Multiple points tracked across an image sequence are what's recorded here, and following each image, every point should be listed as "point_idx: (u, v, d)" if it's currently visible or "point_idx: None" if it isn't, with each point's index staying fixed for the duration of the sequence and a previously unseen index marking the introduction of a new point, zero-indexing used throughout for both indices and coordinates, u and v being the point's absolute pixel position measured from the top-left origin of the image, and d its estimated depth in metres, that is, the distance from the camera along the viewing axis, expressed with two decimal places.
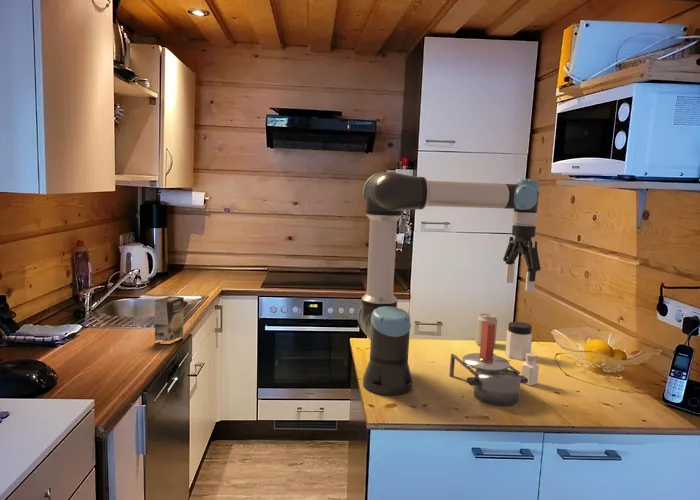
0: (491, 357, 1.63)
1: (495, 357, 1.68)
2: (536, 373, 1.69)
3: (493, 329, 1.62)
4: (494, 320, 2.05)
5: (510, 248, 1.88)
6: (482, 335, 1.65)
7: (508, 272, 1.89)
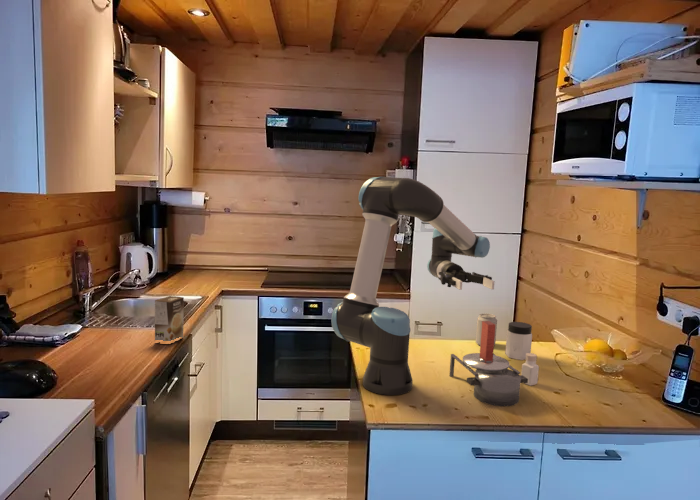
0: (491, 357, 1.63)
1: (495, 357, 1.68)
2: (536, 373, 1.69)
3: (493, 329, 1.62)
4: (494, 320, 2.05)
5: None
6: (482, 335, 1.65)
7: None
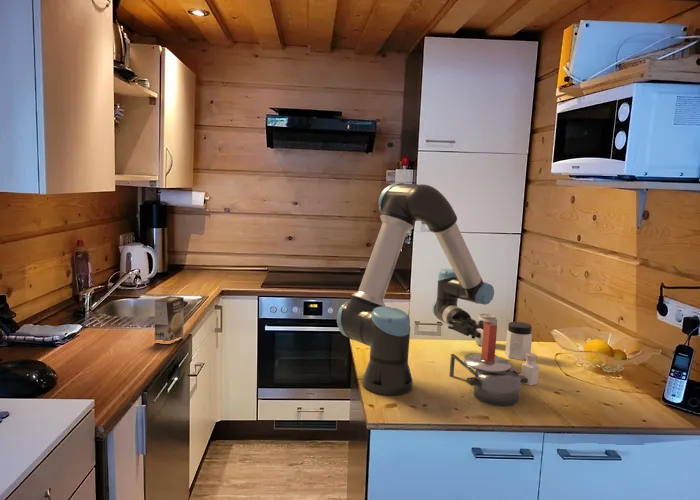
0: (493, 358, 1.62)
1: (497, 358, 1.67)
2: (536, 373, 1.69)
3: (495, 330, 1.61)
4: (494, 320, 2.05)
5: None
6: (483, 336, 1.64)
7: None
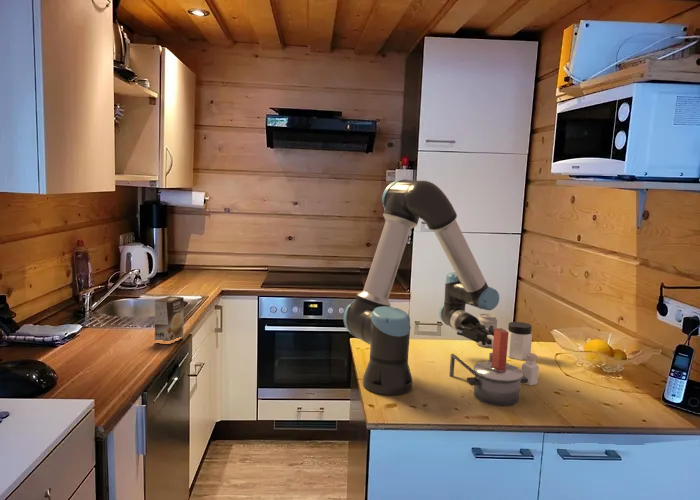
0: (504, 366, 1.55)
1: (508, 366, 1.61)
2: (536, 373, 1.69)
3: (506, 337, 1.54)
4: (494, 320, 2.05)
5: None
6: (494, 343, 1.57)
7: None
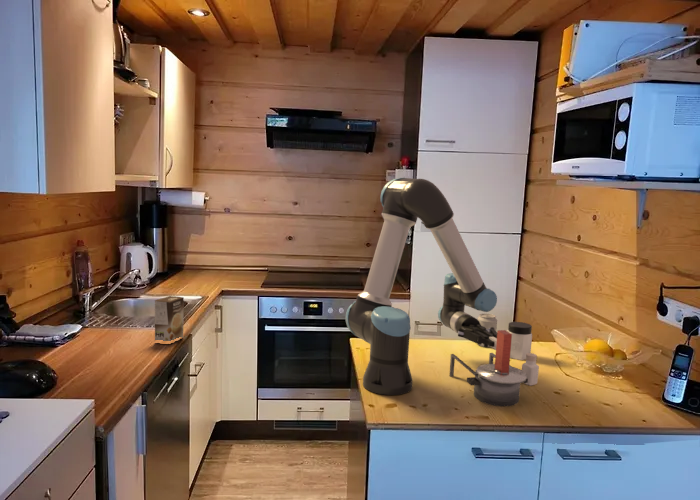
0: (507, 369, 1.53)
1: (511, 368, 1.59)
2: (536, 373, 1.69)
3: (509, 339, 1.52)
4: (494, 320, 2.05)
5: None
6: (497, 345, 1.55)
7: None
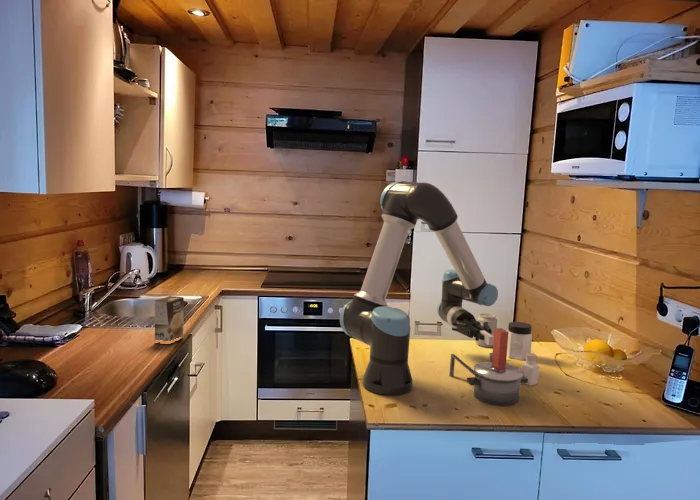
0: (504, 366, 1.55)
1: (508, 366, 1.61)
2: (536, 373, 1.69)
3: (506, 337, 1.54)
4: (494, 320, 2.05)
5: None
6: (494, 343, 1.57)
7: None
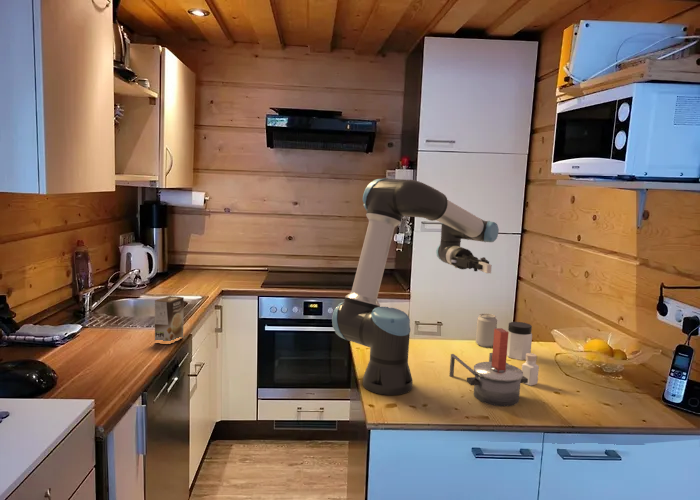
0: (504, 366, 1.55)
1: (508, 366, 1.61)
2: (536, 373, 1.69)
3: (506, 337, 1.54)
4: (494, 320, 2.05)
5: None
6: (494, 343, 1.57)
7: None
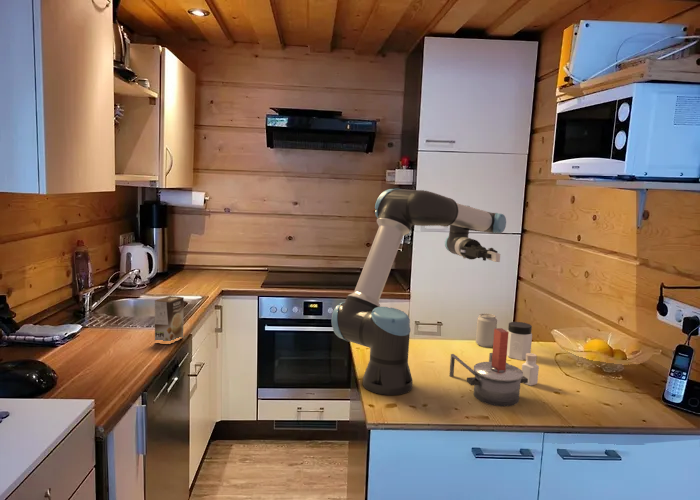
0: (504, 366, 1.55)
1: (508, 366, 1.61)
2: (536, 373, 1.69)
3: (506, 337, 1.54)
4: (494, 320, 2.05)
5: None
6: (494, 343, 1.57)
7: None
